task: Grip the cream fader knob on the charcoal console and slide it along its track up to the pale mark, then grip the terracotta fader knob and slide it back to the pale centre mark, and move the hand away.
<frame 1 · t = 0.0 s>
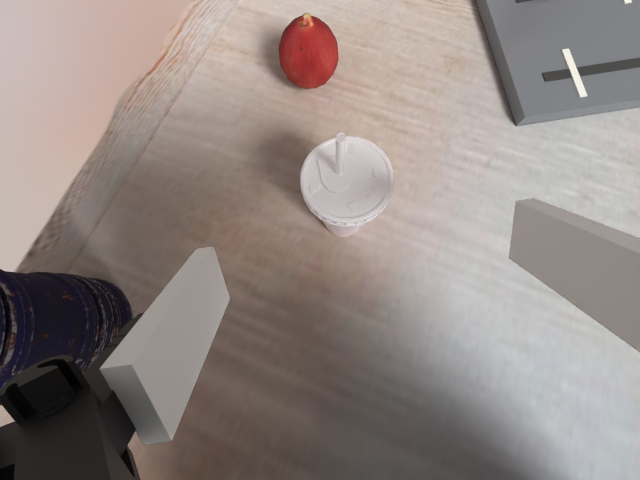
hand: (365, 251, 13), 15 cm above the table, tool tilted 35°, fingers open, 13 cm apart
storage jar: (85, 329, 29), on the table
console: (621, 33, 32), on the table
onion: (311, 83, 33), on the table
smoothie: (343, 219, 30), on the table
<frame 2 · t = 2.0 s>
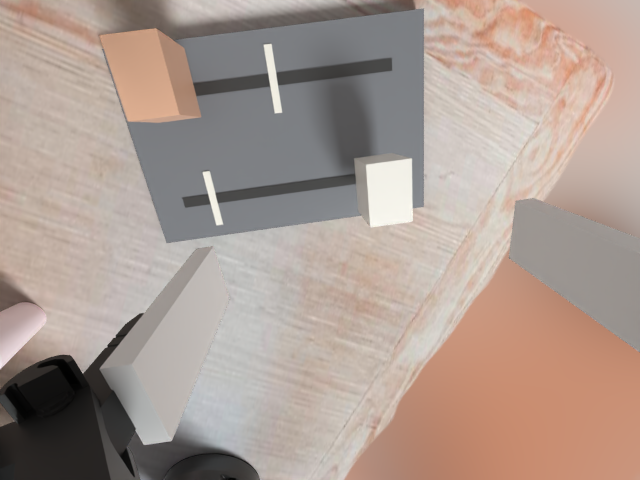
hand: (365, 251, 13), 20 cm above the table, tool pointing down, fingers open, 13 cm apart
fader b: (166, 85, 23), point 6 cm above the table, slide at 8.0 cm
console: (283, 136, 31), on the table
fader a: (377, 184, 27), point 6 cm above the table, slide at -8.0 cm
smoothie: (30, 314, 36), on the table
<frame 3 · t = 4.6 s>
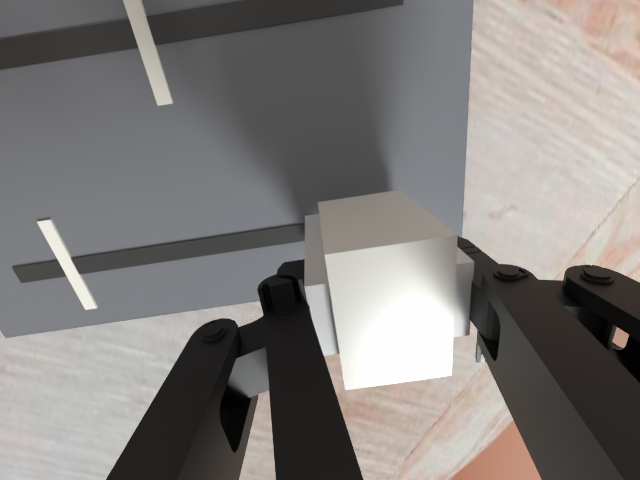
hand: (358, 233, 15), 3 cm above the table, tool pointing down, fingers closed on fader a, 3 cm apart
console: (192, 149, 16), on the table
fader a: (368, 260, 12), point 6 cm above the table, slide at -8.0 cm, touching gripper
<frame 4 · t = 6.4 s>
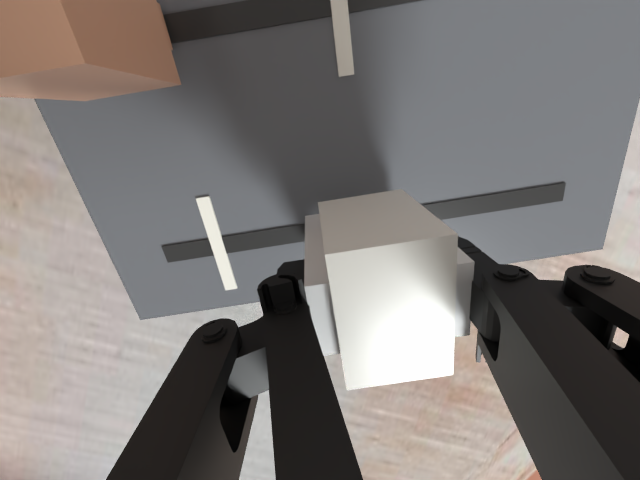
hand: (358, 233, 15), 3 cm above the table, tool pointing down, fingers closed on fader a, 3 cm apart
console: (347, 125, 16), on the table
fader a: (369, 259, 12), point 6 cm above the table, slide at 0.4 cm, touching gripper
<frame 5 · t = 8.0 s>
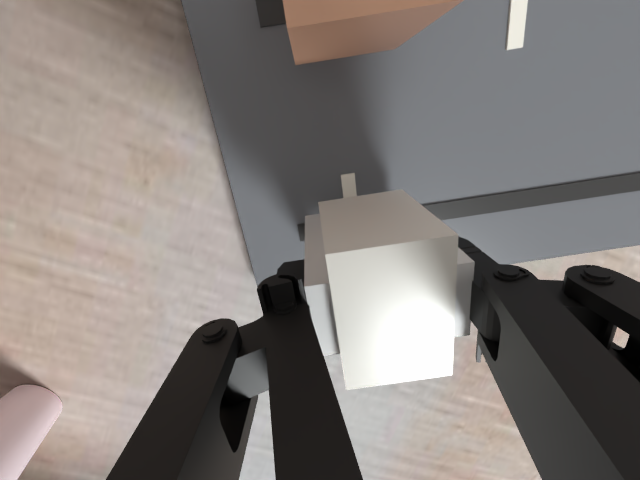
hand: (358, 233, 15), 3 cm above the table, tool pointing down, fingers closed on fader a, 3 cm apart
console: (490, 103, 16), on the table
fader a: (369, 259, 12), point 6 cm above the table, slide at 7.9 cm, touching gripper
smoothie: (38, 400, 23), on the table
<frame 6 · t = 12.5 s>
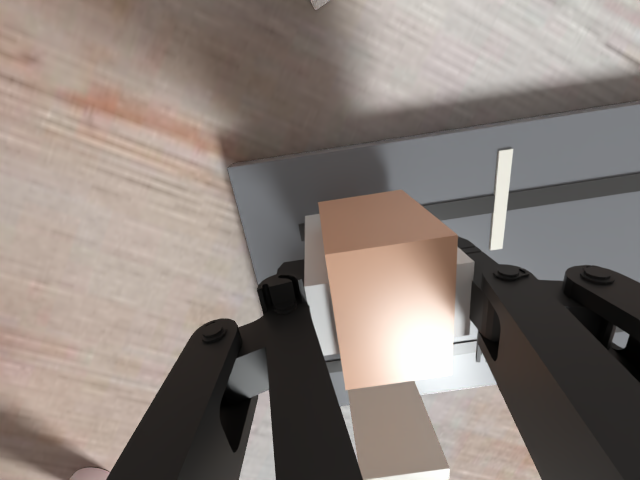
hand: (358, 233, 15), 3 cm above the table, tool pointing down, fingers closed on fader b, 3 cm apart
fader b: (369, 259, 12), point 6 cm above the table, slide at 8.0 cm, touching gripper
console: (478, 269, 20), on the table
fader a: (384, 420, 16), point 6 cm above the table, slide at 7.9 cm
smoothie: (96, 477, 27), on the table
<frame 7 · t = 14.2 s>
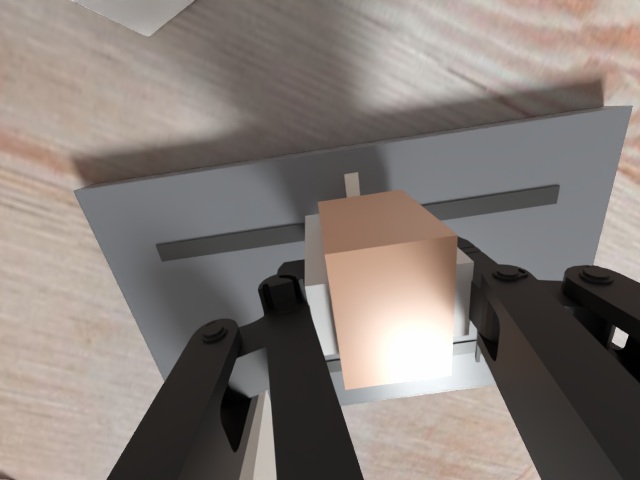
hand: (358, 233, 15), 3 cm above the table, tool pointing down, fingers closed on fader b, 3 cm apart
fader b: (368, 259, 12), point 6 cm above the table, slide at 0.1 cm, touching gripper
console: (359, 286, 20), on the table
fader a: (242, 439, 17), point 6 cm above the table, slide at 7.9 cm
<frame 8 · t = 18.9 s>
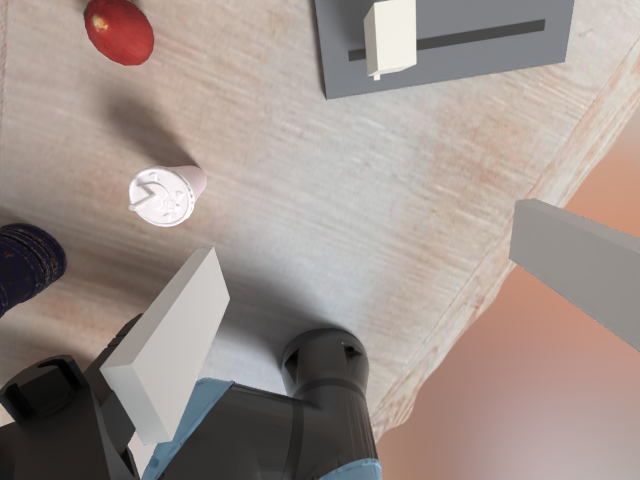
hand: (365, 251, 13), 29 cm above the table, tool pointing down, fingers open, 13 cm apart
storage jar: (31, 253, 43), on the table
fader a: (384, 44, 30), point 6 cm above the table, slide at 7.9 cm
onion: (140, 40, 34), on the table
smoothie: (193, 179, 40), on the table
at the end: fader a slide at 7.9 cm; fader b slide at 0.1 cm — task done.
